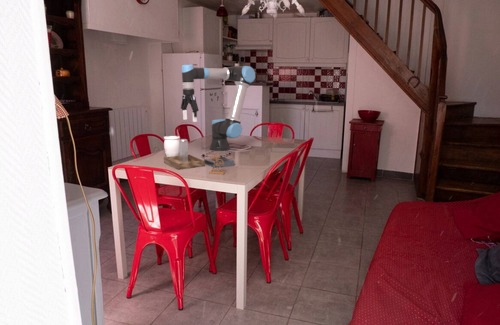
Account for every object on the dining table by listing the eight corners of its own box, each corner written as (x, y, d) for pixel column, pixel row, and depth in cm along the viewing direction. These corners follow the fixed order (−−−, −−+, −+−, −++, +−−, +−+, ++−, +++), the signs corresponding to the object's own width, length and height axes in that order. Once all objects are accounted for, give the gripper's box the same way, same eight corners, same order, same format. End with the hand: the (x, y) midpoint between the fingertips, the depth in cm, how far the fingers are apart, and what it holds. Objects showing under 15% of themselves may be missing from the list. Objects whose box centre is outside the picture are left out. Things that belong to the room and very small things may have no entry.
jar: (164, 160, 252) (163, 138, 249) (164, 156, 262) (163, 135, 259) (180, 159, 254) (179, 137, 251) (180, 156, 264) (179, 135, 261)
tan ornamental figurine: (225, 173, 223) (225, 153, 220) (223, 174, 219) (223, 154, 216) (211, 171, 225) (211, 152, 222) (208, 173, 221) (208, 153, 218)
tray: (189, 159, 256) (188, 154, 255) (204, 166, 238) (204, 160, 237) (163, 162, 245) (163, 157, 245) (178, 169, 228) (178, 164, 227)
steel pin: (185, 161, 245) (185, 138, 242) (189, 163, 241) (188, 139, 238) (178, 162, 242) (178, 139, 239) (181, 164, 238) (181, 140, 235)
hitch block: (222, 161, 253) (222, 156, 252) (234, 165, 241) (234, 160, 241) (204, 163, 245) (204, 159, 244) (215, 168, 234) (215, 163, 233)
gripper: (174, 88, 258) (176, 119, 263) (192, 89, 238) (194, 123, 244) (184, 87, 262) (186, 118, 267) (203, 89, 243) (204, 122, 248)
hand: (190, 120), depth 255 cm, fingers open, 13 cm apart
